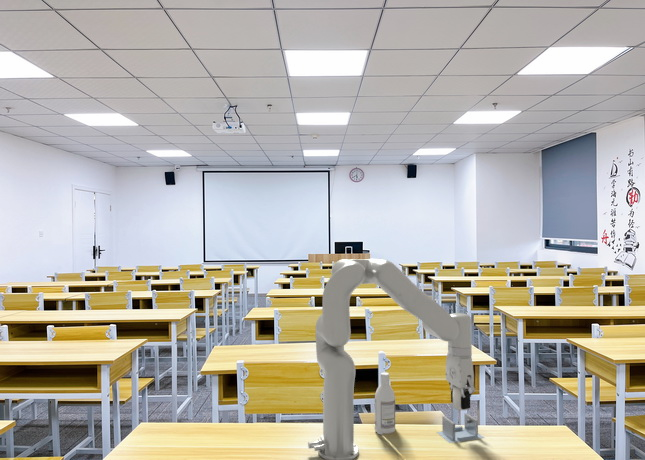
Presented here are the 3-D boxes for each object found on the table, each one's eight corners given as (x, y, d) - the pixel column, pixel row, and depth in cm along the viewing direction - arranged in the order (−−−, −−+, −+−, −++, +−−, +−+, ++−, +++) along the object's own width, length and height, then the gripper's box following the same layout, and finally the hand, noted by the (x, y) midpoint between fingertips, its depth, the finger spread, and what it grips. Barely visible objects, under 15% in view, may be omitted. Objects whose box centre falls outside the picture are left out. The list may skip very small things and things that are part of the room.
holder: (449, 446, 142) (449, 439, 142) (436, 435, 149) (436, 429, 149) (484, 440, 145) (484, 434, 145) (469, 430, 153) (469, 424, 153)
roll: (458, 411, 144) (458, 389, 144) (449, 405, 149) (449, 384, 149) (471, 409, 146) (471, 387, 146) (462, 403, 151) (462, 382, 151)
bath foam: (399, 432, 152) (399, 373, 152) (385, 438, 147) (385, 378, 147) (384, 425, 157) (384, 369, 157) (370, 431, 153) (370, 373, 153)
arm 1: (452, 440, 143) (452, 423, 143) (442, 432, 149) (442, 416, 149) (457, 440, 144) (457, 423, 144) (447, 432, 149) (447, 415, 149)
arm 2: (473, 437, 145) (473, 420, 145) (462, 429, 151) (462, 413, 151) (478, 436, 146) (477, 420, 146) (467, 429, 152) (467, 413, 152)
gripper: (436, 345, 155) (437, 397, 155) (465, 358, 138) (466, 416, 138) (454, 343, 157) (455, 395, 157) (485, 356, 141) (486, 413, 140)
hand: (460, 404), depth 147 cm, fingers closed on roll, 5 cm apart
